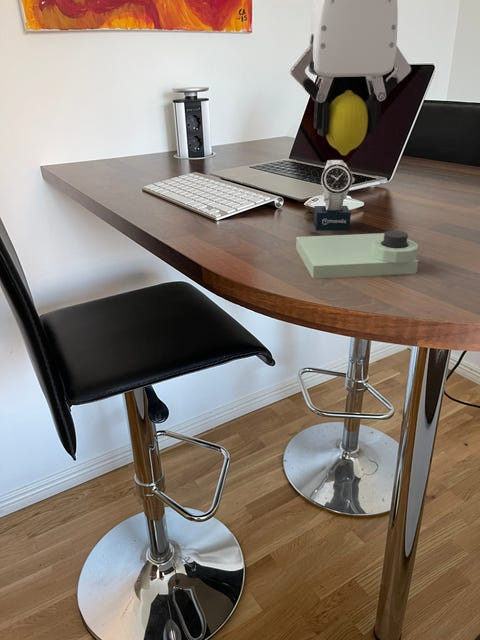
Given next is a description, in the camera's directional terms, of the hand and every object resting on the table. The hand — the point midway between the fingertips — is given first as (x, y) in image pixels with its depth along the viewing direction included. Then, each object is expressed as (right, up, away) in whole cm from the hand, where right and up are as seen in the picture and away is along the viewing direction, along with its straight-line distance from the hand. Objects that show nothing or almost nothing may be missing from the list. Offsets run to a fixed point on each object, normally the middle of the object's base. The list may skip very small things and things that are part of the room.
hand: (345, 132), depth 65 cm
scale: (+2, -16, +6) cm, 17 cm away
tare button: (+7, -15, +1) cm, 16 cm away
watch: (+2, -9, +20) cm, 22 cm away
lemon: (0, -3, +1) cm, 3 cm away
